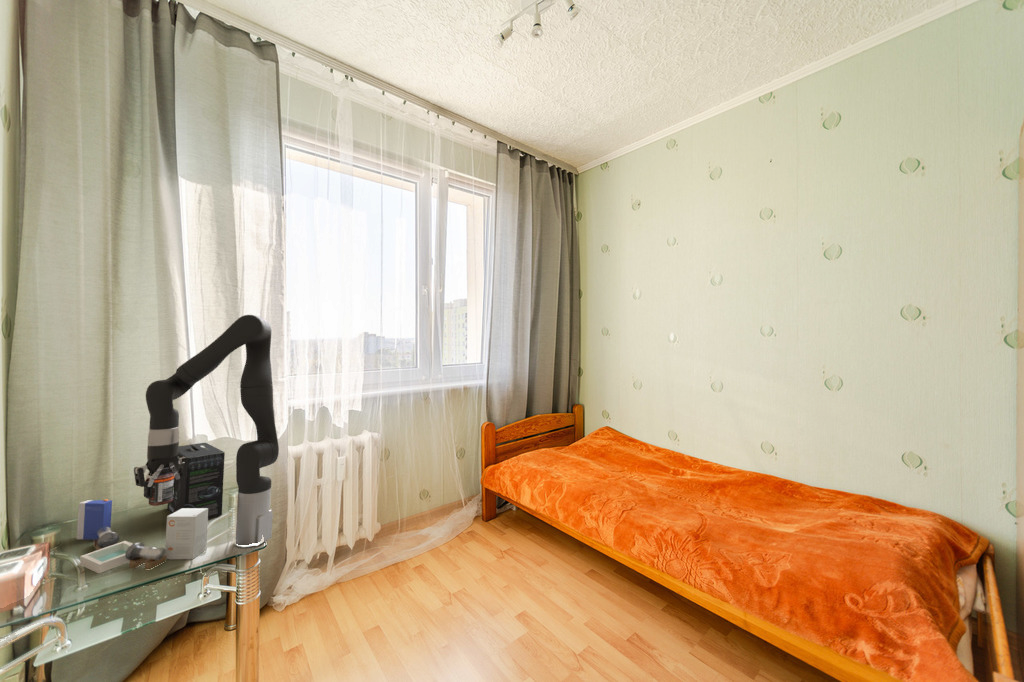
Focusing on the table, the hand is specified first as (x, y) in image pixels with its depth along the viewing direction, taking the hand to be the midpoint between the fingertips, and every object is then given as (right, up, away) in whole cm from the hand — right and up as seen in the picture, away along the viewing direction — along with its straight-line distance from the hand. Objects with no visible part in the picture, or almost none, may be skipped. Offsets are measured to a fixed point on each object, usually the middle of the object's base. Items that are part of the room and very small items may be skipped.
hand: (161, 494), depth 125 cm
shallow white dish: (-6, -16, -9) cm, 19 cm away
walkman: (-25, -15, +3) cm, 29 cm away
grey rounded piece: (+6, -16, -11) cm, 20 cm away
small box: (+12, -17, -4) cm, 21 cm away
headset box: (-9, -16, +24) cm, 31 cm away
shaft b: (-16, -16, -2) cm, 22 cm away
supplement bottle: (0, -3, 0) cm, 3 cm away
